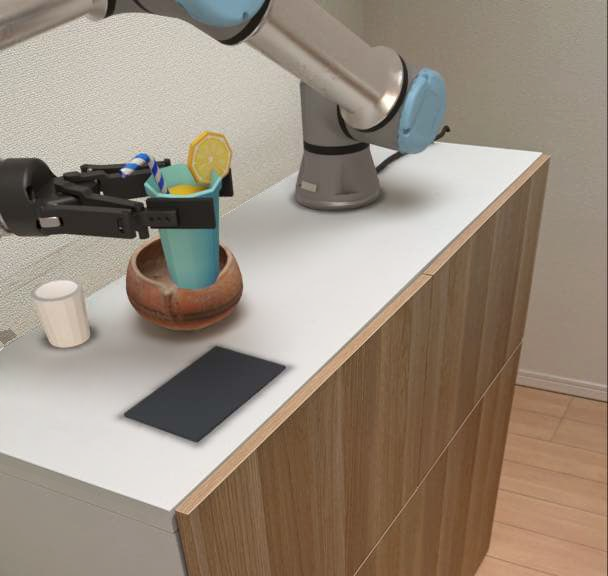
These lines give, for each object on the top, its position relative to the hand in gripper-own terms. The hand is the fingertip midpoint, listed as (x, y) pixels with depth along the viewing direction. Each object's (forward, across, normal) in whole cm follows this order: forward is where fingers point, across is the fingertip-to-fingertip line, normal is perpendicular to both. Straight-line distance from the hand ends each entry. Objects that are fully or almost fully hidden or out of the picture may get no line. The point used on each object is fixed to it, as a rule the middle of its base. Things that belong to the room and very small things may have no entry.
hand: (222, 197), depth 78 cm
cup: (-5, 0, -9) cm, 10 cm away
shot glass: (-27, -13, -23) cm, 38 cm away
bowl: (-11, -18, -23) cm, 32 cm away
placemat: (-5, 0, -23) cm, 23 cm away
